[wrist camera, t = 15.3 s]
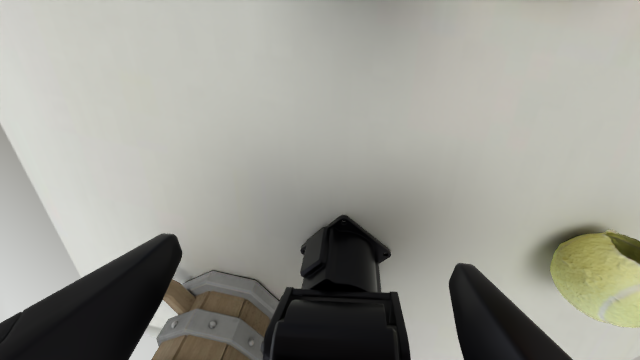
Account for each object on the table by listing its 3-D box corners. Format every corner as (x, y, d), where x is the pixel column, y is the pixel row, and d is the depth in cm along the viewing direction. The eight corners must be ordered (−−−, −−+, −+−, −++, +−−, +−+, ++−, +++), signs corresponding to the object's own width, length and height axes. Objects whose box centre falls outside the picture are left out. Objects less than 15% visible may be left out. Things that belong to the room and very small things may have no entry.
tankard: (302, 320, 34) (269, 501, 21) (233, 339, 39) (173, 496, 26) (184, 213, 26) (24, 396, 14) (117, 254, 31) (-47, 417, 18)
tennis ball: (581, 278, 25) (649, 356, 19) (514, 259, 24) (562, 333, 19) (644, 229, 21) (748, 307, 15) (566, 207, 21) (644, 278, 15)
